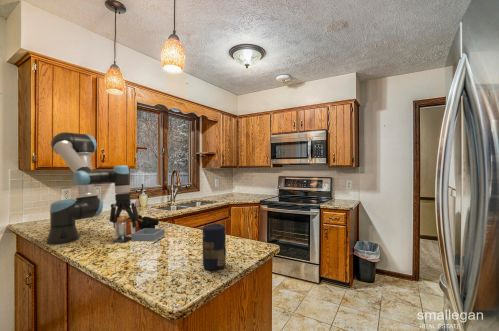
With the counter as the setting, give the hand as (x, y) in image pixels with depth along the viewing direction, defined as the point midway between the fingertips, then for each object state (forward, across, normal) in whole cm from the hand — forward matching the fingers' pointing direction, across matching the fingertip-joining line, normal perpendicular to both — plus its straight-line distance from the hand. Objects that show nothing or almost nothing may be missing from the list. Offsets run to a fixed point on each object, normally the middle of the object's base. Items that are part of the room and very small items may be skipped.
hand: (125, 233), depth 138 cm
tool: (+5, -2, +19) cm, 20 cm away
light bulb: (+3, -2, 0) cm, 4 cm away
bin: (+6, +10, +6) cm, 13 cm away
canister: (+8, +58, -29) cm, 65 cm away
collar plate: (+5, -2, 0) cm, 5 cm away
